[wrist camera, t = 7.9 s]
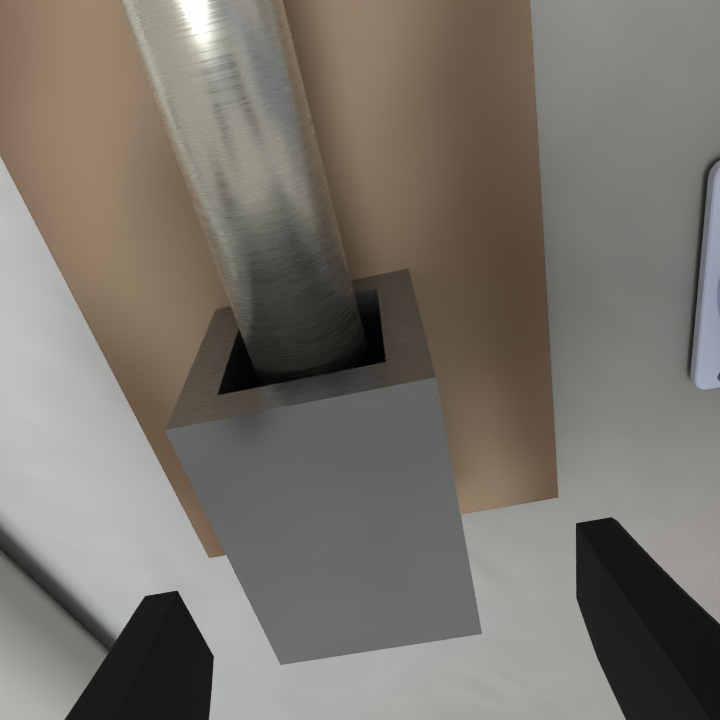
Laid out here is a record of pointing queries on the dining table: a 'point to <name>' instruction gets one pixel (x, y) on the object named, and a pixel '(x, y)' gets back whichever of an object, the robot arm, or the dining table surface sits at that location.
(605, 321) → the dining table surface
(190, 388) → the sleeve
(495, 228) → the base board
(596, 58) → the dining table surface
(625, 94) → the dining table surface
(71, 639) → the tube
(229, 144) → the inner tube
